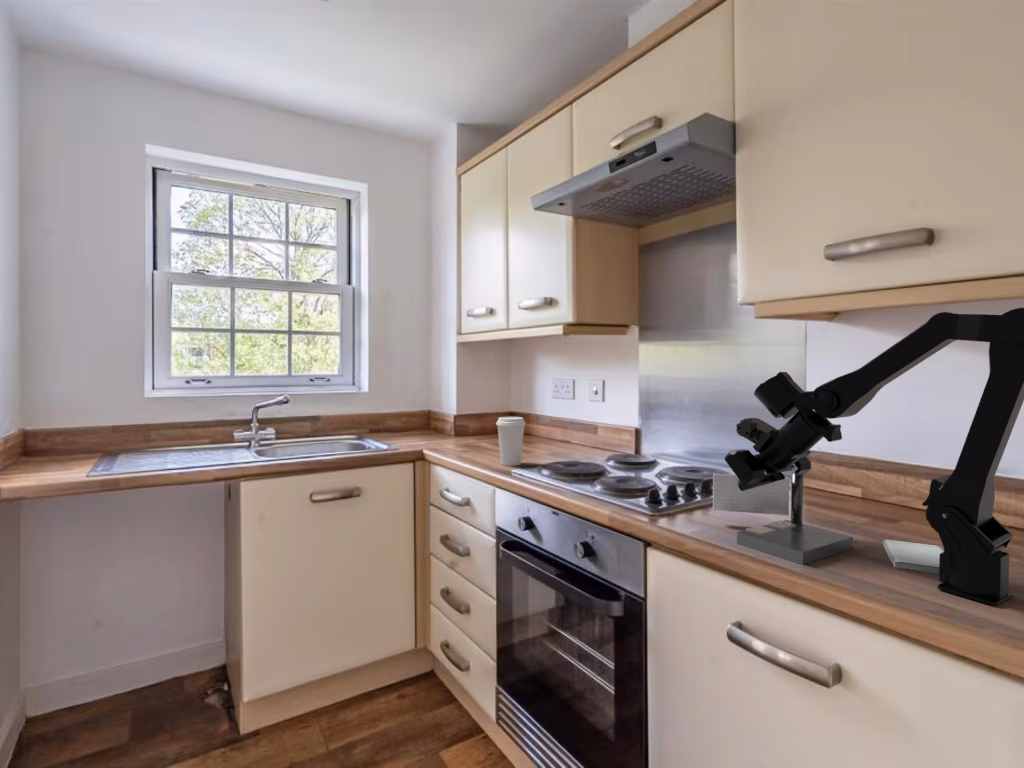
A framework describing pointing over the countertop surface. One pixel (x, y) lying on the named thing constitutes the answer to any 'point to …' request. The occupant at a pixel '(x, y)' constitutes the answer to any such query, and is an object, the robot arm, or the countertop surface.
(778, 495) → the grey flat panel
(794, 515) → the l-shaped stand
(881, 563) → the countertop surface
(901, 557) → the hard drive
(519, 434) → the coffee cup
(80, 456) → the countertop surface
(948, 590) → the robot arm
